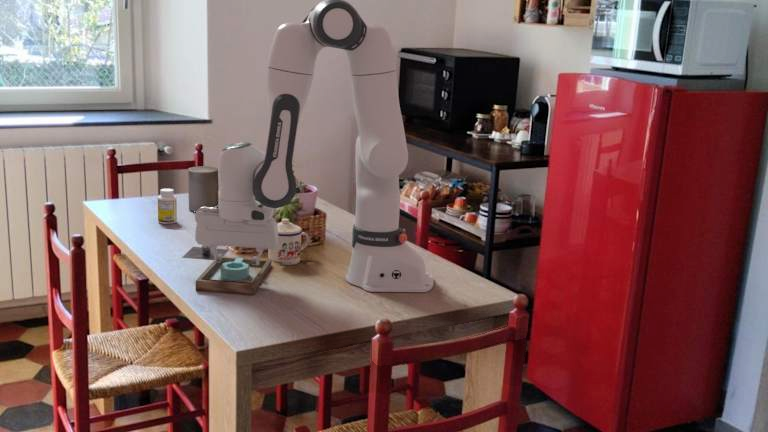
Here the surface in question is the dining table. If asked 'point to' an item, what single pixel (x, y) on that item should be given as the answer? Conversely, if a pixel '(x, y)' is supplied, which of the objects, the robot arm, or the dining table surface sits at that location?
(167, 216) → the supplement bottle
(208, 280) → the walnut tray
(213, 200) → the pillar candle
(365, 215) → the robot arm
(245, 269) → the teal ring
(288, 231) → the teacup with lid
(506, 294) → the dining table surface
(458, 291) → the dining table surface
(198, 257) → the post stand
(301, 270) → the dining table surface
